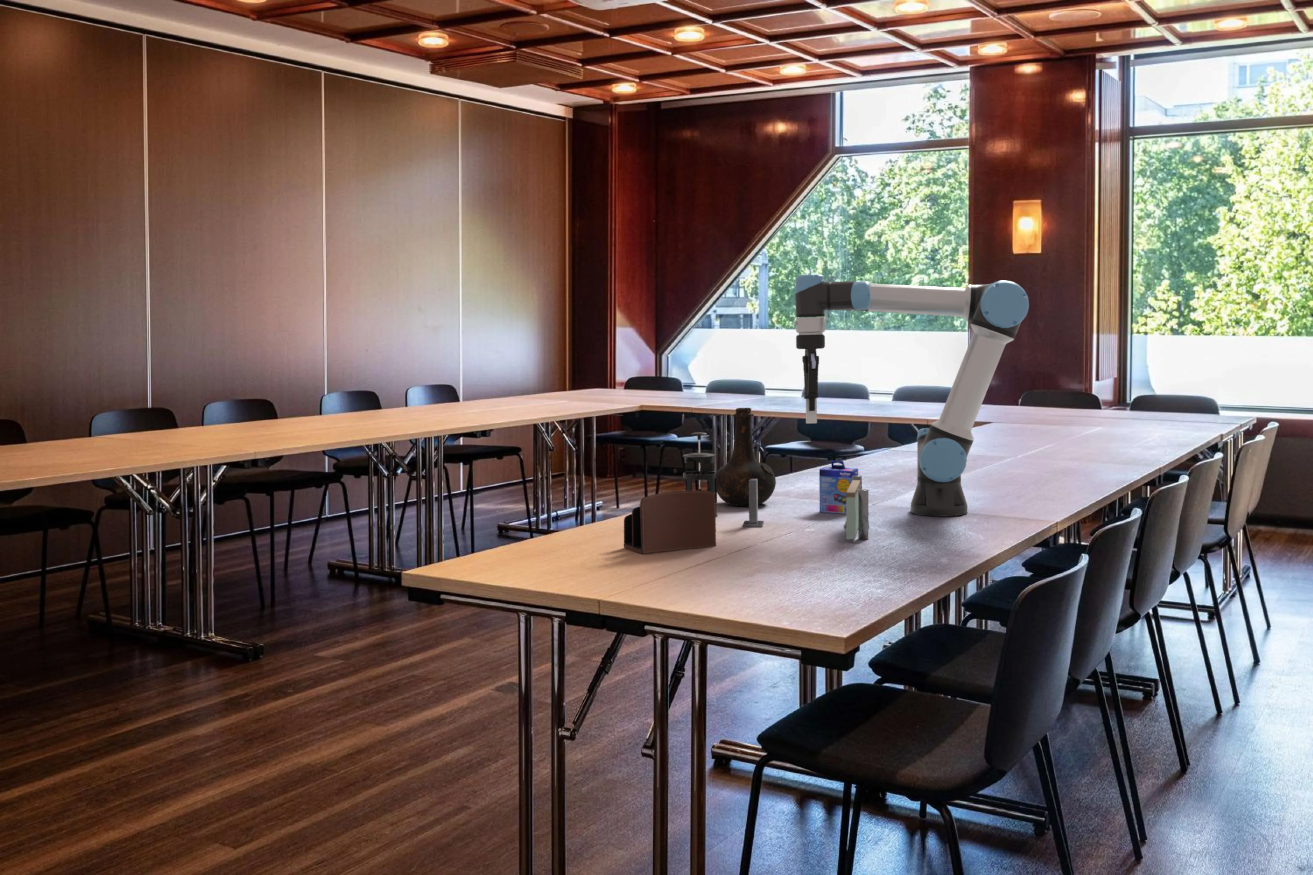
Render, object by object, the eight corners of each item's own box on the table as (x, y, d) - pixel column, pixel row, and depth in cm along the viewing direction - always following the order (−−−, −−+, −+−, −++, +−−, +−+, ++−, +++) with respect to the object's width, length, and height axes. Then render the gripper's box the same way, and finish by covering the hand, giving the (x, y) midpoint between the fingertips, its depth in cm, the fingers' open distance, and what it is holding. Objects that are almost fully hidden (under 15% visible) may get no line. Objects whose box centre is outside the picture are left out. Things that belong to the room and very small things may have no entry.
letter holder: (716, 546, 294) (716, 487, 292) (642, 555, 285) (641, 494, 283) (696, 540, 302) (695, 483, 301) (623, 548, 293) (622, 489, 292)
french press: (701, 520, 331) (700, 434, 329) (674, 517, 337) (673, 433, 335) (728, 514, 340) (727, 431, 337) (701, 511, 346) (700, 429, 344)
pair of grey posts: (868, 524, 320) (868, 474, 319) (869, 539, 298) (869, 486, 297) (744, 523, 325) (744, 474, 324) (736, 538, 303) (736, 485, 302)
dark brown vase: (760, 510, 346) (759, 410, 343) (703, 506, 355) (702, 409, 352) (786, 501, 362) (785, 406, 359) (731, 498, 370) (730, 405, 368)
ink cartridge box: (818, 512, 341) (818, 460, 339) (824, 509, 346) (824, 458, 344) (853, 514, 336) (853, 461, 335) (859, 511, 341) (859, 459, 340)
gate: (852, 523, 316) (852, 480, 315) (860, 523, 315) (860, 480, 314) (846, 538, 295) (846, 492, 294) (854, 539, 294) (854, 492, 293)
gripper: (793, 333, 332) (794, 421, 335) (799, 334, 319) (800, 425, 322) (821, 333, 332) (822, 420, 335) (828, 333, 319) (829, 424, 322)
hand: (811, 423), depth 328 cm, fingers closed
